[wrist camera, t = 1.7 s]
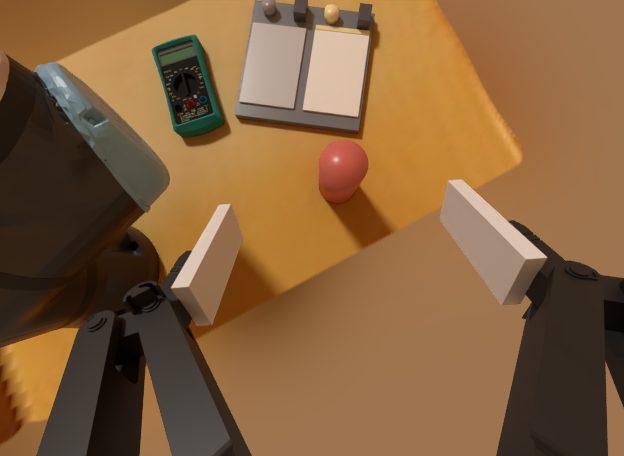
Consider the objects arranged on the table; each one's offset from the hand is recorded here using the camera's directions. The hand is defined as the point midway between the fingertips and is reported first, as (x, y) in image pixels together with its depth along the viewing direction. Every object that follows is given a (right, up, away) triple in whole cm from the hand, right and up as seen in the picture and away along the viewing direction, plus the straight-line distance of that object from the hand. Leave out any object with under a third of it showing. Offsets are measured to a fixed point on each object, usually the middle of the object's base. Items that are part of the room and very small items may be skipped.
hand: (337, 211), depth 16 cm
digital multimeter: (-21, +21, +25) cm, 38 cm away
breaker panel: (-3, +24, +24) cm, 34 cm away
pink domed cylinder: (+2, +5, +22) cm, 23 cm away
